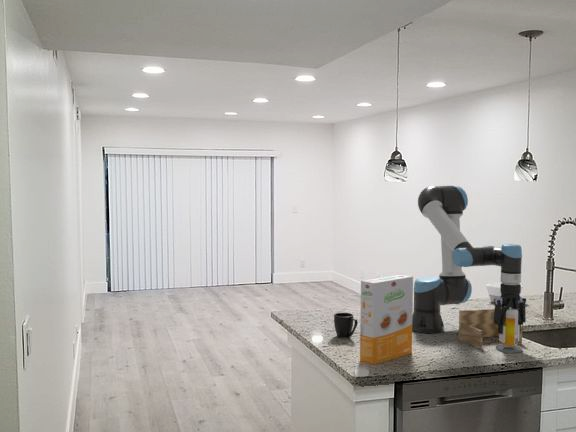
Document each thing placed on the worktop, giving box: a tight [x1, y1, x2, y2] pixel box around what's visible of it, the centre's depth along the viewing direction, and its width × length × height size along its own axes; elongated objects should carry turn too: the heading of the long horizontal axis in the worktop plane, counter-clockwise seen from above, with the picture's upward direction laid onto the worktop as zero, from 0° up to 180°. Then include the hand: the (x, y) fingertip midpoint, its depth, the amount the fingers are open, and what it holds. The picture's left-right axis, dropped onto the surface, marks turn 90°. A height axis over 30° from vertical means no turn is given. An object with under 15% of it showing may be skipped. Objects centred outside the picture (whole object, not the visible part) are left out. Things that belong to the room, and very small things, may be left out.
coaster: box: [495, 343, 523, 354], centre depth 231 cm, size 10×10×1 cm
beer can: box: [500, 307, 518, 347], centre depth 231 cm, size 6×6×15 cm
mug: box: [333, 312, 359, 339], centre depth 248 cm, size 8×12×10 cm
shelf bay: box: [458, 307, 523, 349], centre depth 243 cm, size 20×14×12 cm
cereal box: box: [359, 274, 414, 365], centre depth 221 cm, size 22×6×30 cm, turn 129°
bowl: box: [485, 281, 524, 303], centre depth 321 cm, size 18×18×9 cm
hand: (509, 340), depth 231 cm, fingers closed on beer can, 6 cm apart
